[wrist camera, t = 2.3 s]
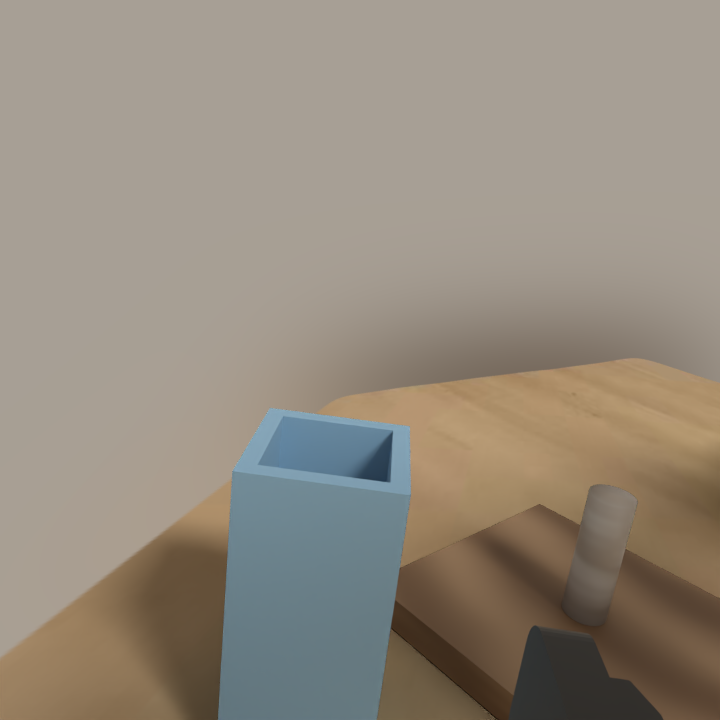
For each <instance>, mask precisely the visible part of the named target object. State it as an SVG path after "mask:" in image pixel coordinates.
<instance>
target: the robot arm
mask: <svg viewBox="0 0 720 720" xmlns="http://www.w3.org/2000/svg"><path fill="white" fill-rule="evenodd" d="M508 720H663V718H662V716H661V714H660V713H659V712H658V711H657V710H656V709H655V708H654V706H653V705H652V704H651V703H650V702H649V701H648V700H647V699H646V698H645V697H644V695H643V694H642V693H641V692H640V691H639V690H638V689H637V688H636V687H635V686H634V685H633V683H632V682H631V681H630V680H624V679H618V678H611V677H609V674H608V672H607V670H606V667H605V665H604V662H603V660H602V658H601V655H600V653H599V651H598V648H597V646H596V643H595V641H594V639H593V638H592V636H591V635H590V634H588V633H582V632H576V631H569V630H562V629H556V628H549V627H543V626H536V625H535V626H533V627H532V628H531V629H530V631H529V634H528V637H527V641H526V645H525V649H524V653H523V658H522V662H521V666H520V670H519V674H518V679H517V683H516V687H515V691H514V696H513V700H512V704H511V708H510V713H509V719H508Z"/></svg>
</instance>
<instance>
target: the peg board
mask: <svg viewBox="0 0 720 720" xmlns="http://www.w3.org/2000/svg"><path fill="white" fill-rule="evenodd" d="M637 504H638V501H637V499H636V498H635V497H634V496H633V495H632V494H630V493H629V492H627V491H625V490H623V489H620V488H617V487H614V486H610V485H593V486H591V487H590V489H589V493H588V497H587V501H586V505H585V509H584V513H583V517H582V522H581V526H580V525H578V524H577V523H575V522H573V521H571V520H569V519H567V518H565V517H563V516H561V515H559V514H558V513H556V512H554V511H552V510H550V509H548V508H546V507H544V506H542V505H540V504H539V505H537V506H534V507H532V508H530V509H528V510H526V511H524V512H521V513H519V514H517V515H515V516H513V517H510V518H508V519H506V520H504V521H502V522H500V523H497V524H495V525H493V526H491V527H489V528H487V529H484V530H482V531H480V532H478V533H476V534H473V535H471V536H469V537H467V538H465V539H463V540H460V541H458V542H456V543H454V544H452V545H449V546H447V547H445V548H443V549H441V550H439V551H436V552H434V553H432V554H430V555H428V556H426V557H423V558H421V559H419V560H417V561H415V562H412V563H410V564H408V565H406V566H404V567H402V568H400V569H399V576H398V583H397V589H396V596H395V603H394V609H393V616H392V622H391V628H392V629H393V630H395V631H396V632H397V633H398V634H399V635H400V636H402V637H403V638H404V639H405V640H406V641H407V642H409V643H410V644H411V645H412V646H413V647H414V648H416V649H417V650H418V651H419V652H420V653H421V654H423V655H424V656H425V657H426V658H427V659H428V660H429V661H431V662H432V663H433V664H434V665H435V666H436V667H438V668H439V669H440V670H441V671H442V672H443V673H445V674H446V675H447V676H448V677H449V678H450V679H452V680H453V681H454V682H455V683H456V684H457V685H459V686H460V687H461V688H462V689H463V690H464V691H466V692H467V693H468V694H469V695H470V696H471V697H473V698H474V699H475V700H476V701H477V702H478V703H480V704H481V705H482V706H483V707H484V708H485V709H487V710H488V711H489V712H490V713H491V714H492V715H494V716H495V717H496V718H497V719H498V720H508V719H509V713H510V708H511V704H512V700H513V696H514V691H515V687H516V683H517V679H518V674H519V670H520V666H521V662H522V658H523V653H524V649H525V645H526V641H527V637H528V634H529V631H530V629H531V628H532V627H533V626H535V625H536V626H543V627H549V628H556V629H562V630H569V631H576V632H582V633H588V634H590V635H591V636H592V638H593V639H594V641H595V643H596V646H597V648H598V651H599V653H600V655H601V658H602V660H603V662H604V665H605V667H606V670H607V672H608V674H609V677H611V678H618V679H624V680H630V681H631V682H632V683H633V685H634V686H635V687H636V688H637V689H638V690H639V691H640V692H641V693H642V694H643V695H644V697H645V698H646V699H647V700H648V701H649V702H650V703H651V704H652V705H653V706H654V708H655V709H656V710H657V711H658V712H659V713H660V714H661V716H662V718H663V720H720V599H719V598H717V597H715V596H713V595H712V594H710V593H708V592H706V591H704V590H702V589H700V588H698V587H696V586H694V585H693V584H691V583H689V582H687V581H685V580H683V579H681V578H679V577H677V576H675V575H674V574H672V573H670V572H668V571H666V570H664V569H662V568H660V567H658V566H656V565H655V564H653V563H651V562H649V561H647V560H645V559H643V558H641V557H639V556H637V555H636V554H634V553H632V552H630V551H628V550H626V549H625V548H626V545H627V541H628V537H629V534H630V530H631V526H632V522H633V519H634V515H635V511H636V508H637Z"/></svg>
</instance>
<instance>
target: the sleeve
mask: <svg viewBox="0 0 720 720" xmlns="http://www.w3.org/2000/svg"><path fill="white" fill-rule="evenodd" d="M232 472H233V473H232V488H231V505H230V522H229V539H228V556H227V573H226V590H225V607H224V624H223V641H222V659H221V676H220V693H219V710H218V720H377V715H378V708H379V702H380V695H381V689H382V682H383V675H384V669H385V662H386V656H387V649H388V642H389V636H390V629H391V622H392V616H393V609H394V603H395V596H396V589H397V583H398V576H399V569H400V563H401V556H402V550H403V543H404V536H405V530H406V523H407V517H408V510H409V503H410V497H411V482H410V426H403V425H395V424H388V423H380V422H372V421H365V420H357V419H349V418H342V417H334V416H327V415H319V414H311V413H304V412H296V411H289V410H281V409H273V408H270V409H269V411H268V413H267V414H266V416H265V418H264V419H263V421H262V422H261V424H260V426H259V428H258V429H257V431H256V433H255V434H254V436H253V438H252V439H251V441H250V443H249V444H248V446H247V448H246V449H245V451H244V453H243V454H242V456H241V458H240V459H239V461H238V463H237V464H236V466H235V468H234V469H233V471H232Z"/></svg>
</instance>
